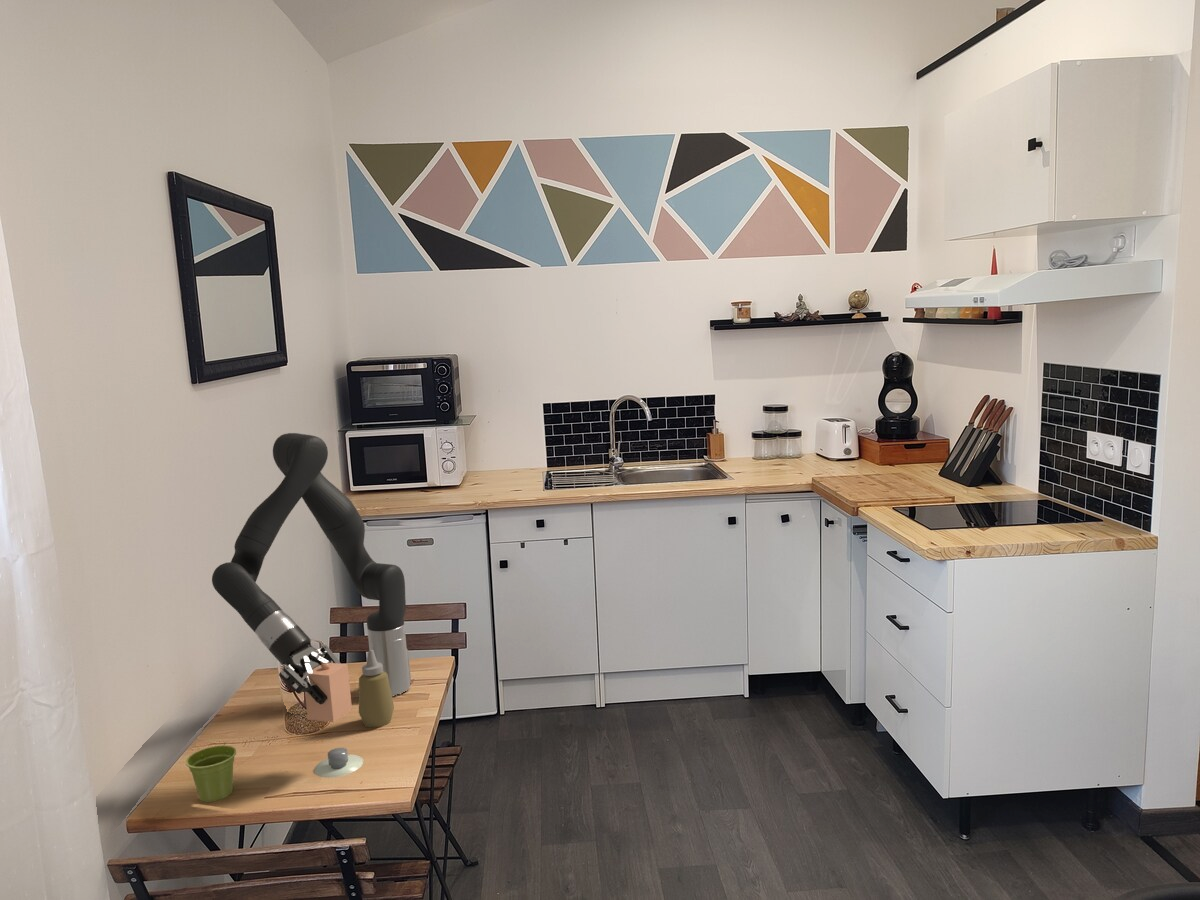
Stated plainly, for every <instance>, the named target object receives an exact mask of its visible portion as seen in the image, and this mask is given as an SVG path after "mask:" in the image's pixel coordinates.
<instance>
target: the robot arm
mask: <svg viewBox="0 0 1200 900" xmlns="http://www.w3.org/2000/svg"><path fill="white" fill-rule="evenodd" d="M328 451H329V450H328V446H327V444H326V442H325V441H324V439H322V438H321V437H318V436H316V435H311V434H304V433H298V432H297V433H296V432H288V433H283V434H281V435H280V436H278V437H277V438H276V440H275V441H274V443H273V447H272V458H273V460H274V463H275V465H276V466H277V467H278V469H279V470H280V472H281V473H282V474H283V475H284V478H283V479H282V481H281V482H280V484H279V485H278V486H276V489H275V490H274V491H273V492H272V493H271V494H269V496H267V498H265V499H264V500H263V501H262V502H261V503H260V504H258V506H257V507H256V508H255V509H254V510H253V511H252V512H251V514H250V515H249V517H248V518H247V520H246V521H245V523H244V525H243V527H242V529H241V531H240V532H239V535H238V536H237V538H236V540H235V543H234V553H233V556H232V559H231V560H230V562H224V563H221V564H220V565H218V566H217V567H216V568H215V569H214V571H213V573H212V575H211V576H212V577H211V583H212V587H213V588H214V590H215V591H216V592H217V594H219V596H220V597H221V598H223V599H224V600H225V602H227V603H228V604H229V605H230V606H231V607H232V608H233V609H234V610H235V611H236V612H237V614H239V616H241V618H242V620H243V621H244V622H245V623H246V624H247V626H248V627H249V628H250V629H251V630H252V631H253V632H254V633H255V634H256V636H257V638H258V639H259V640H260V642H261V643H262V645H264V646H265V648H266V649H267V650H268V651H269V652H270V653H271V655H273V657H274V658H275V659H276V660H277V661H278V662H279V663H280V665H282V666H283V665H284V667H283V668H282V670H281V671H280V672H279V673H278V675H279V677H280V679H282V680H283V681H284V682H285V683H286V684H287V685H288V686H289V687H290V688H291V689H292V690H293V691H294V692H296V693H297V695H298V694H301V693H305V692H306V693H309V694H310V695H311V697H312V698H313V699H314V700H315V701H316V702H317V703H319V704H323V703H324V702H325V701H326V700H327V696H326V695H325V694H324V692H323V691H322V690H321V689H320V688H319V687H318V686H317V685H315V682H314V681H313V680H312V678H311V677H310V673H312V670H313V669H315V668H316V667H318V666H320V665H321V663H322V664H323V663H338V664H342V663H341V662H340V660H339V659H338V658H337V656H336V655H335V654H334V653H333V651H332V650H331V649H330V648H329V646H328V645H327V644H323V645H322V646H321V647H320V648H318V649H317V648H315V647H313V646H312V644H311V642H312V640H311V638H310V637H309V636H308V634H306V632H305V631H304V630H303V629H302V628H301V627H300V626H299V625H298V623H296V621H294V619H293V618H292V617H291V616H290V615H289V614H287V613H286V612H285V611H284V610H283V609H282V608H281V607H280V606H279V605H278V604H277V602H276V601H275V600H274V599H273V598H272V597H271V596H269V595H268V594H267V593H266V592H265V591H263V590H262V588H261V587H260V586H259V585H258V584H257V580H258V578H259V574H260V572H261V569H262V566H263V564H264V560H265V557H266V555H267V554H268V552H269V551H270V549H271V547H272V545H273V543H274V541H275V539H276V537H277V536H278V533H279V532H280V530H281V528H282V526H283V525H284V523H285V521H286V520H287V518H288V517H289V516H290V513H291V512H292V511H293V509H294V508H295V507H296V505H297V504H298V502H299V501H300V500H301V499H302V500H303V502H304V503H305V504H306V506H307V508H308V510H309V511H310V513H311V514H312V515H313V517H314V518H315V520H316V522H317V524H318V525H319V527H320V528H321V530H322V532H323V533H324V535H325V536H326V538H327V539H328V541H329V542H330V544H331V545H332V546H333V548H334V550H335V551H336V553H337V555H338V556H339V558H340V559H341V561H342V563H343V564H344V566H345V569H346V570H347V572H348V575H349V576H350V578H351V581H352V583H353V585H354V587H355V589H356V591H357V592H358V594H359V595H360V596H361V597H363V598H365V599H367V600H374V601H378V611H375V612H372V613H371V614H369V615H368V616H367V617H366V628H367V638H368V639H367V640H368V648H369V650H373V651H374V654H375V657H376V660H377V662H378V663H382V665H383V671H384V672H386V673H387V675H388V680H389V685H390V690H391V695H392V697H394V696H393V695H396V696H398V695H397V694H400V693H403V692H405V691H406V690H408V689H409V687H410V688H411V685H410V683H411V684H412V677H411V666H410V655H409V653H410V652H409V649H408V648H407V638H406V630H405V629H406V628H405V627H406V626H405V615H406V609H407V608H406V607H407V604H406V603H407V601H406V582H405V575H404V572H403V570H402V569H401V567H400V566H398V565H396V564H392V563H391V564H390V563H389V564H388V563H379V562H378V563H377V562H376V561H374V560H373V558H372V557H371V556H370V555H369V553H368V551H367V549H366V548H365V544H364V543H365V536H366V535H365V533H366V528H365V523H364V521H363V518H362V516H361V514H360V513H359V511H358V509H357V507H356V506H355V505H354V504H353V502H352V501H351V500H350V499H349V497H348V496H347V495H345V493H344V492H342V490H340V489H339V488H338V487H337V486H335V485H334V484H333V483H332V482H330V480H328V478H326V476H324V474H323V473H322V470H323V469H324V467H325V465H326V463H327V461H328V456H329V452H328ZM369 650H368V651H369ZM304 672H306V673H305V675H304V676H303V673H304ZM306 679H307V683H306V682H305V680H306ZM409 690H410V689H409ZM409 690H408V691H409ZM405 693H406V692H405ZM403 694H404V693H403ZM400 695H401V694H400Z"/></svg>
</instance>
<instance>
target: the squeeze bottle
mask: <svg viewBox="0 0 1200 900" xmlns="http://www.w3.org/2000/svg"><path fill="white" fill-rule="evenodd" d="M361 669H362V670H361V671H362V674H361V675H360V676H359V678H358V714H359V716H360V718H361V720H362V723H363V725H364V727H366V728H370V729H374V728H376V729H377V728H381V727H384V726H388V725H389V724H390V723H391V721H392V718H393V714H394V709H395V706H394V700H393V696H392V695H391V690H390V685H389V680H388V675H387V673H386V672H384V671H383V665H382V663H378V662H377V660H376V657H375V654H374V651H373V650H368V651H367V658H366V663H365V664H364V665H362V667H361Z"/></svg>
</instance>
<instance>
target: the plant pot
mask: <svg viewBox="0 0 1200 900" xmlns="http://www.w3.org/2000/svg"><path fill="white" fill-rule="evenodd" d="M236 754H237V749H236V748H235V747H234V746H231V745H215V746H210V747H206V748H203V749H201V750H198V751H195V752H194V753H192V754H191V755H189V756H188V757H187V758H186V759H185V765H186V766H187V767H188V769H189V771H190V773H191V775H192V778H193V781H194V784H195V787H196V791H197V795H198V798H199V799H200V801H201V802H207V803H208V802H210V803H211V802H216V801H220V800H223V799H224V798H225V799H226V798H227V797H229V795H231V794H232V792H233V790H234V789H233V788H234V787H233V785H234V782H233V781H234V762H235V757H236Z"/></svg>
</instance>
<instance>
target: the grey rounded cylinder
mask: <svg viewBox="0 0 1200 900" xmlns="http://www.w3.org/2000/svg"><path fill="white" fill-rule="evenodd" d="M327 759H328V762H329V765H330V766H331V768H332V769H340V768H343V767H345V766H346V765H347V762H348V749H347V748H346V747H336V748H333V749H330V750H329V751H328V752H327Z"/></svg>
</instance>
